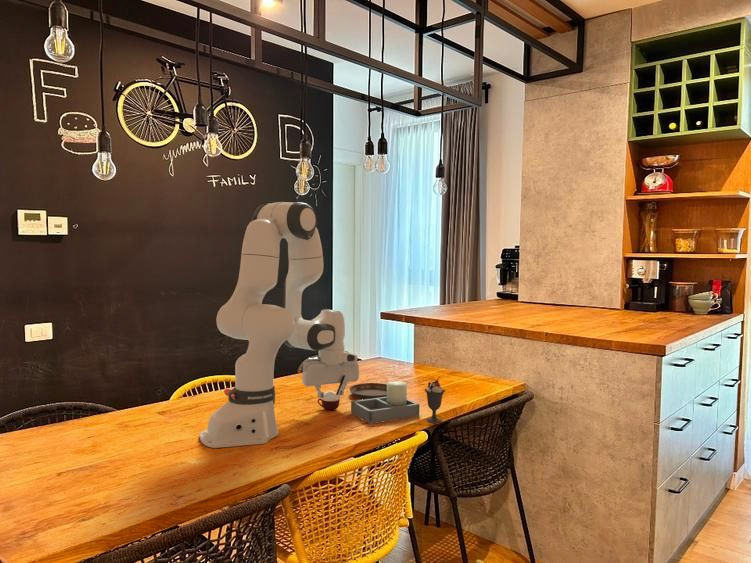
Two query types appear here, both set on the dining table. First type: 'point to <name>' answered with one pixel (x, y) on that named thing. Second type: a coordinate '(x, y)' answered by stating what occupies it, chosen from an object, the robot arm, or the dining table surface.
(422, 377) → the dining table surface
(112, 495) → the dining table surface
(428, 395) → the sundae
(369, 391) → the plant saucer
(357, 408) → the caddy
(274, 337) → the robot arm
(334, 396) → the cocoa
